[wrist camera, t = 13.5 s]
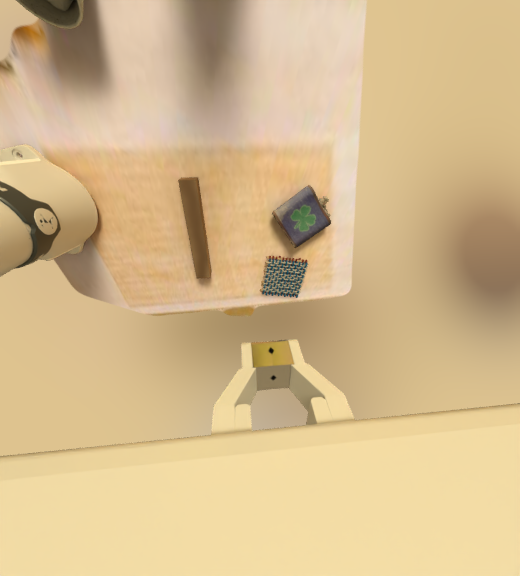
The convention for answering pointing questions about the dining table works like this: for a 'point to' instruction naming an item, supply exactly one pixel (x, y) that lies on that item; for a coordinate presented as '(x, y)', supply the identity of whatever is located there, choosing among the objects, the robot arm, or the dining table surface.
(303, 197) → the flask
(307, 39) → the dining table surface
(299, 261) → the woven mat
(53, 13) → the ceramic mug
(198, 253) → the bar
